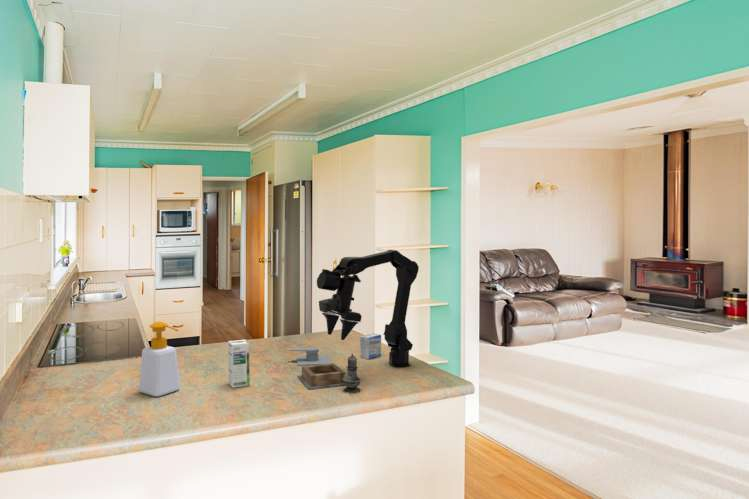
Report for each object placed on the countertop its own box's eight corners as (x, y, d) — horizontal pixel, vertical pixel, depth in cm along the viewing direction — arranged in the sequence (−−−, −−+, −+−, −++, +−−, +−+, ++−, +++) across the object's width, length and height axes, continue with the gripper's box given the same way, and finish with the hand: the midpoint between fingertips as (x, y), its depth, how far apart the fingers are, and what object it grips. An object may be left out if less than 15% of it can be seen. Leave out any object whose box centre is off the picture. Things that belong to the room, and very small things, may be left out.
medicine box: (368, 359, 213) (368, 337, 212) (359, 357, 216) (360, 335, 215) (381, 355, 219) (381, 334, 218) (372, 353, 222) (373, 332, 221)
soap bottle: (165, 401, 164) (164, 328, 163) (136, 392, 172) (135, 322, 170) (191, 392, 172) (190, 322, 171) (163, 384, 180) (162, 317, 178)
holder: (335, 373, 195) (335, 362, 195) (349, 384, 182) (349, 373, 182) (297, 377, 190) (297, 365, 189) (308, 389, 177) (308, 377, 176)
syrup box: (232, 388, 177) (232, 344, 176) (228, 383, 182) (227, 340, 181) (249, 386, 180) (249, 342, 179) (245, 380, 185) (245, 338, 184)
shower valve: (290, 344, 215) (328, 343, 217) (290, 358, 215) (328, 357, 217) (290, 352, 202) (331, 351, 205) (290, 367, 203) (331, 366, 205)
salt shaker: (342, 387, 180) (342, 351, 179) (360, 386, 180) (360, 351, 180) (342, 393, 174) (343, 355, 173) (361, 392, 175) (362, 355, 174)
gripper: (312, 286, 195) (303, 329, 194) (338, 293, 179) (329, 340, 178) (338, 290, 201) (330, 332, 200) (366, 298, 185) (357, 343, 185)
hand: (335, 337), depth 191 cm, fingers open, 9 cm apart
